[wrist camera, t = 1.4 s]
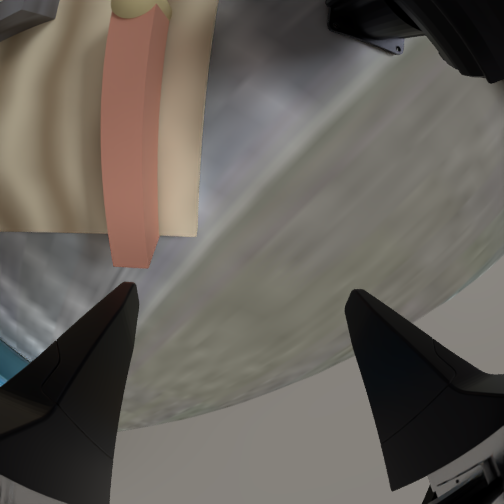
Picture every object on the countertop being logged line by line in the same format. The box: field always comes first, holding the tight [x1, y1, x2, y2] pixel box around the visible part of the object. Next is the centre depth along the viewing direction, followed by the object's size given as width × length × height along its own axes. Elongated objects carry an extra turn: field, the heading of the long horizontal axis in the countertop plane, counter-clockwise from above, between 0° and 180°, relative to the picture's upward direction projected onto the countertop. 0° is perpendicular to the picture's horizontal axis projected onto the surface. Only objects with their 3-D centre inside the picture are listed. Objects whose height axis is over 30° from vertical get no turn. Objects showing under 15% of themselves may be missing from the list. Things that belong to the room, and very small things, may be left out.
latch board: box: [0, 0, 219, 237], centre depth 12 cm, size 22×20×6 cm
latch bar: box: [101, 0, 172, 268], centre depth 13 cm, size 17×3×4 cm, turn 173°
